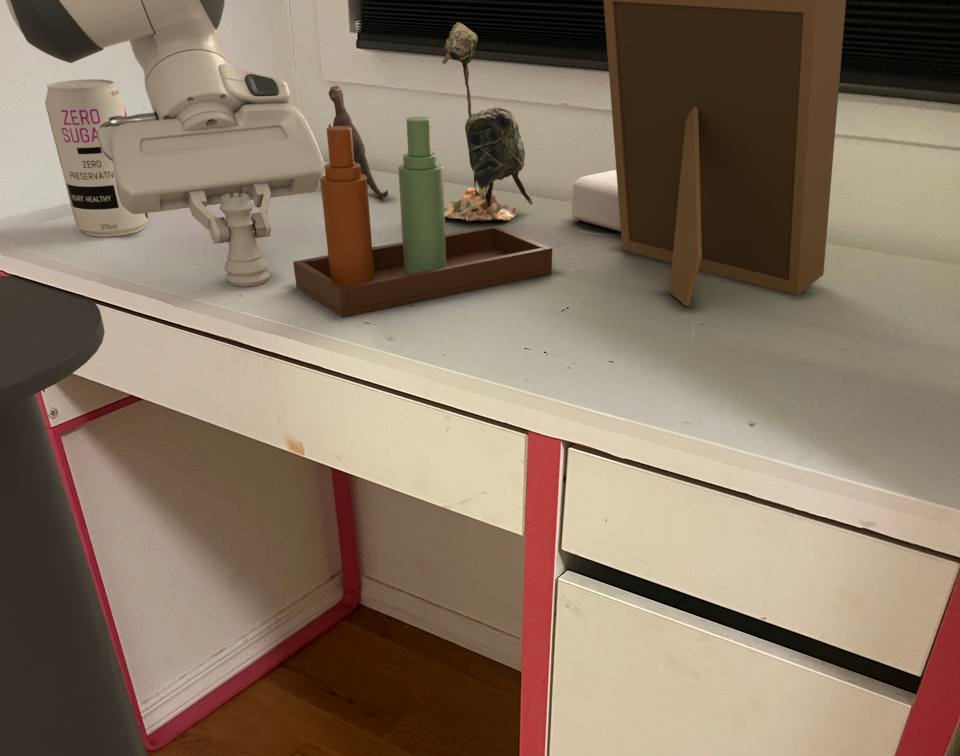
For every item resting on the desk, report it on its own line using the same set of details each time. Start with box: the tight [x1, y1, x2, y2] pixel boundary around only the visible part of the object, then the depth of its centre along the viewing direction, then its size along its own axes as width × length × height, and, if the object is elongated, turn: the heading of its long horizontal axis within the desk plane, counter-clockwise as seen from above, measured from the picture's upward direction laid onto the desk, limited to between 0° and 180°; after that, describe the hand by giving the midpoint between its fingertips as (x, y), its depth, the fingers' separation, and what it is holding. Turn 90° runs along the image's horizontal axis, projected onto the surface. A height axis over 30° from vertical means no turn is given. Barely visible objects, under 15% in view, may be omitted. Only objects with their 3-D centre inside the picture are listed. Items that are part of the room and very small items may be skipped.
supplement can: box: [44, 78, 149, 238], centre depth 109 cm, size 8×8×15 cm
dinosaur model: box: [327, 85, 389, 199], centre depth 123 cm, size 4×12×15 cm
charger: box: [571, 169, 621, 233], centre depth 109 cm, size 5×9×15 cm
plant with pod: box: [441, 21, 534, 222], centre depth 109 cm, size 8×11×20 cm
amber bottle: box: [320, 125, 375, 286], centre depth 88 cm, size 4×4×14 cm
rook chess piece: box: [219, 193, 271, 288], centre depth 94 cm, size 4×4×8 cm
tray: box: [292, 225, 553, 318], centre depth 95 cm, size 24×11×2 cm, turn 122°
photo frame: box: [603, 0, 847, 307], centre depth 88 cm, size 15×22×25 cm
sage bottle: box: [397, 116, 446, 274], centre depth 92 cm, size 4×4×14 cm
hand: (243, 237), depth 94 cm, fingers closed on rook chess piece, 3 cm apart
